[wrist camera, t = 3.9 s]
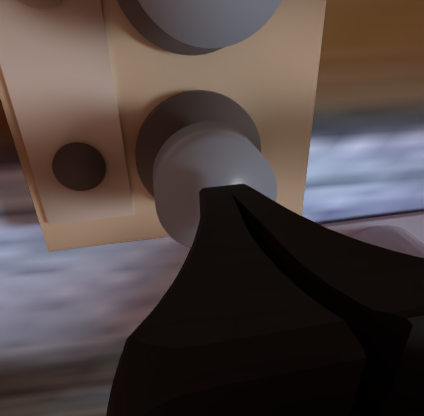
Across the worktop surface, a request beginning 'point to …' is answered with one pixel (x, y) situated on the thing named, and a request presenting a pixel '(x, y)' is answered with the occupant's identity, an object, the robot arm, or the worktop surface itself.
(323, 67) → the worktop surface
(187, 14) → the button middle
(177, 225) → the button
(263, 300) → the robot arm
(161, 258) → the worktop surface
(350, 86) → the worktop surface
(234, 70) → the button board
